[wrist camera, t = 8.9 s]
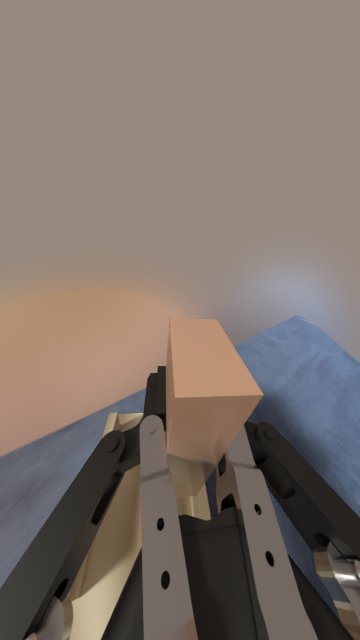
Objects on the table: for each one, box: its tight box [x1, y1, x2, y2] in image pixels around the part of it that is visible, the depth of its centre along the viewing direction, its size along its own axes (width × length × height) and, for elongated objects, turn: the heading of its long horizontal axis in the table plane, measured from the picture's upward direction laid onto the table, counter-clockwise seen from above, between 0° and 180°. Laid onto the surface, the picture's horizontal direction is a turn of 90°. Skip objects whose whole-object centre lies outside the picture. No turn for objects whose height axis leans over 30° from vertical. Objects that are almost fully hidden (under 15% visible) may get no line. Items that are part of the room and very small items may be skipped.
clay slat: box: [164, 318, 264, 498], centre depth 10 cm, size 3×5×14 cm, turn 6°
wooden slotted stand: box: [67, 413, 211, 640], centre depth 17 cm, size 14×16×6 cm
